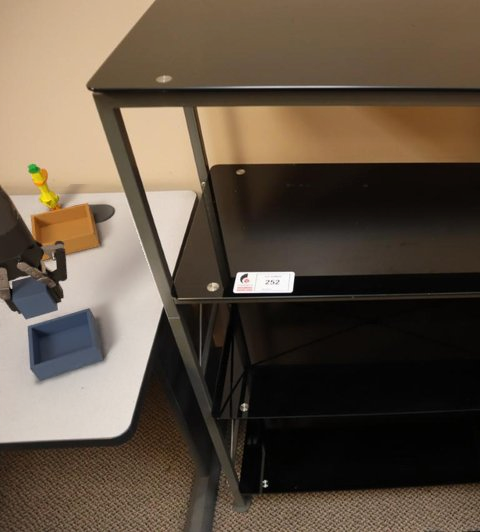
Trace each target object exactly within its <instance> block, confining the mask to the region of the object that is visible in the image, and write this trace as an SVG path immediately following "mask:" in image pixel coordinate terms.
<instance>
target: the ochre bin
mask: <svg viewBox="0 0 480 532" xmlns="http://www.w3.org/2000/svg"><path fill="white" fill-rule="evenodd" d="M30 226H31V234H32V236H33V237H34V239H35V240H36V241H38V242H39V243H41V244H42V245H43V246H44V245H55V242H56V241H62V242H64V246H65V253H66V255H69V254H73V253H76V252H77V253H78V252H82V251H84V250H85V251H86V250H89V249H93V248H98V247H101V246H100V239H99V235H98V230H97V225H96V220H95V215H94V213H93V211H92V209H91V207H90V205H89V202H86V203H81V204H77V205H73V206H68V207H63V208H61V209H58V210H54V211H51V210H49V211H46V212H45V211H44V212H41V213H36V214H31V215H30ZM49 259H50V260H51V258H50V257H49V255H47V254H44V255H43V257H42V260H41V261H42V262H43V261H46V260H49Z"/></svg>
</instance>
